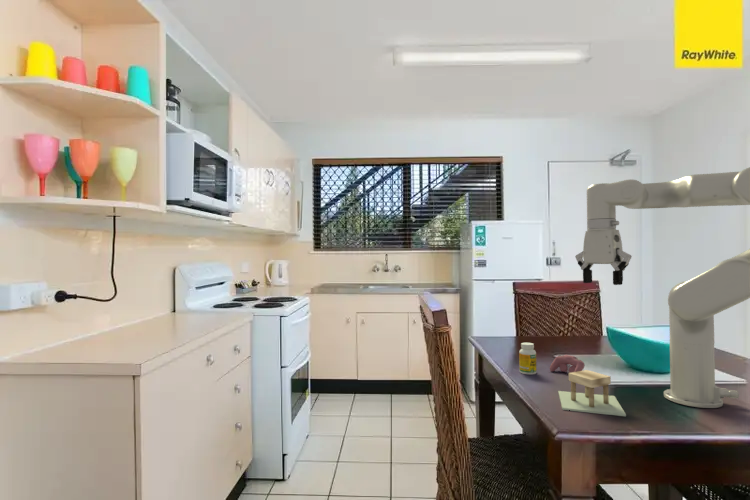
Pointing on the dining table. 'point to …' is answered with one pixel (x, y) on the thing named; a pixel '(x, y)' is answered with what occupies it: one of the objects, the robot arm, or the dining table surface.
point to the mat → (583, 404)
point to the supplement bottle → (527, 359)
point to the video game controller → (567, 359)
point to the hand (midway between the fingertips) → (602, 283)
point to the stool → (590, 384)
